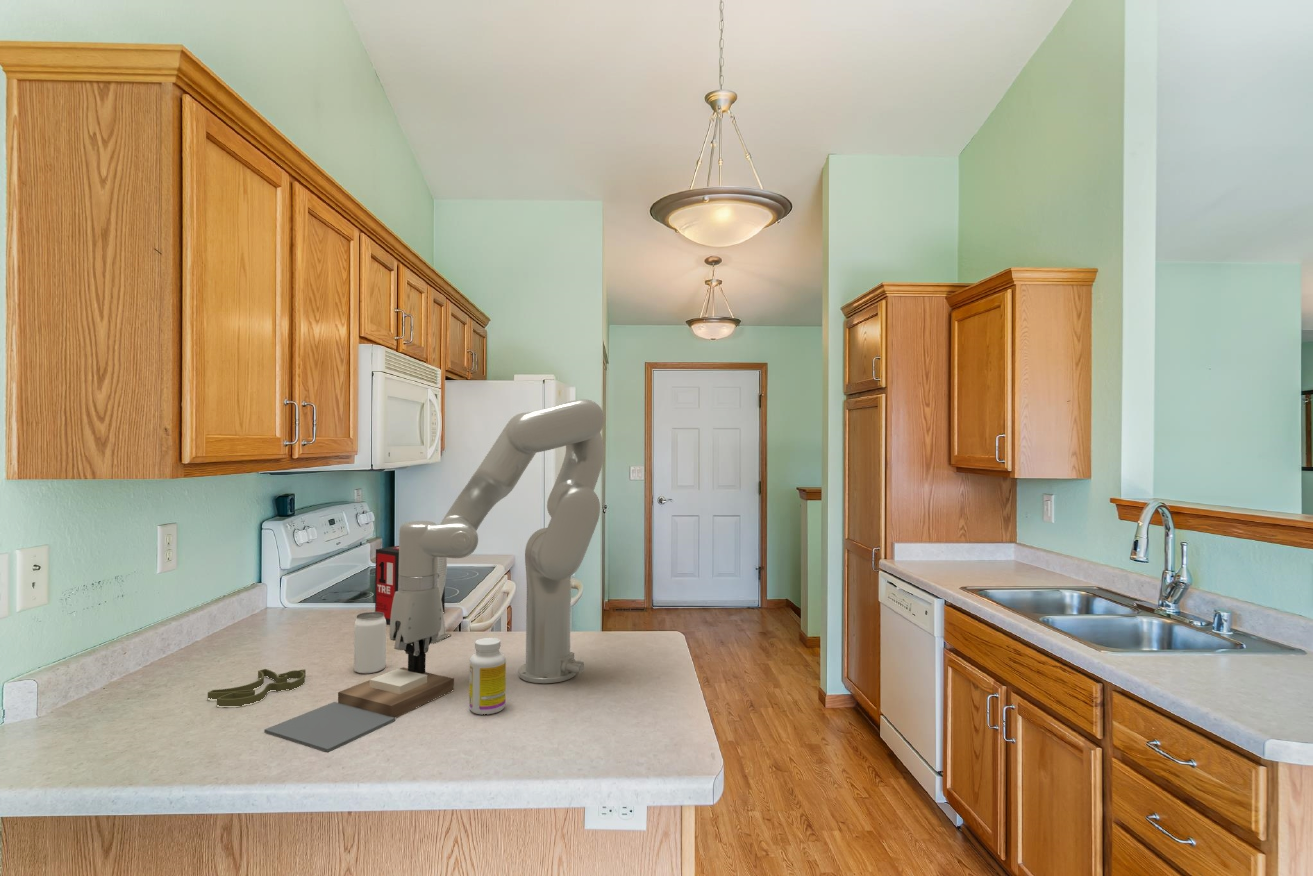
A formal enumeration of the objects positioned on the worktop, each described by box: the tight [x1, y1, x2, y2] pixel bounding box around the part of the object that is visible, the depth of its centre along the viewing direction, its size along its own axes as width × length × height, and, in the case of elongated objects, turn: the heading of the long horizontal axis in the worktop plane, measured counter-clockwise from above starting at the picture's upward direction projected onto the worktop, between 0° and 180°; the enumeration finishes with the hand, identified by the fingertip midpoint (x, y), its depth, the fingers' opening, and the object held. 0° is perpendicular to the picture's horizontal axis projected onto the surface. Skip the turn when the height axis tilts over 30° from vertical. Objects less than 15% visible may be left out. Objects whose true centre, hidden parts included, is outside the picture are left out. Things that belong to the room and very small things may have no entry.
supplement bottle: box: [468, 637, 507, 715], centre depth 130 cm, size 7×7×13 cm
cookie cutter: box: [207, 668, 307, 706], centre depth 138 cm, size 18×12×2 cm, turn 166°
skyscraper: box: [430, 557, 452, 645], centre depth 175 cm, size 8×8×28 cm
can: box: [353, 611, 387, 675], centre depth 151 cm, size 6×6×12 cm
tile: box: [369, 668, 427, 694], centre depth 135 cm, size 8×7×2 cm
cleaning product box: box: [374, 545, 446, 626], centre depth 194 cm, size 16×9×20 cm, turn 149°
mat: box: [263, 701, 396, 753], centre depth 121 cm, size 16×14×1 cm
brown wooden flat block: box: [337, 667, 455, 719], centre depth 135 cm, size 14×16×2 cm
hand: (416, 672), depth 139 cm, fingers closed
